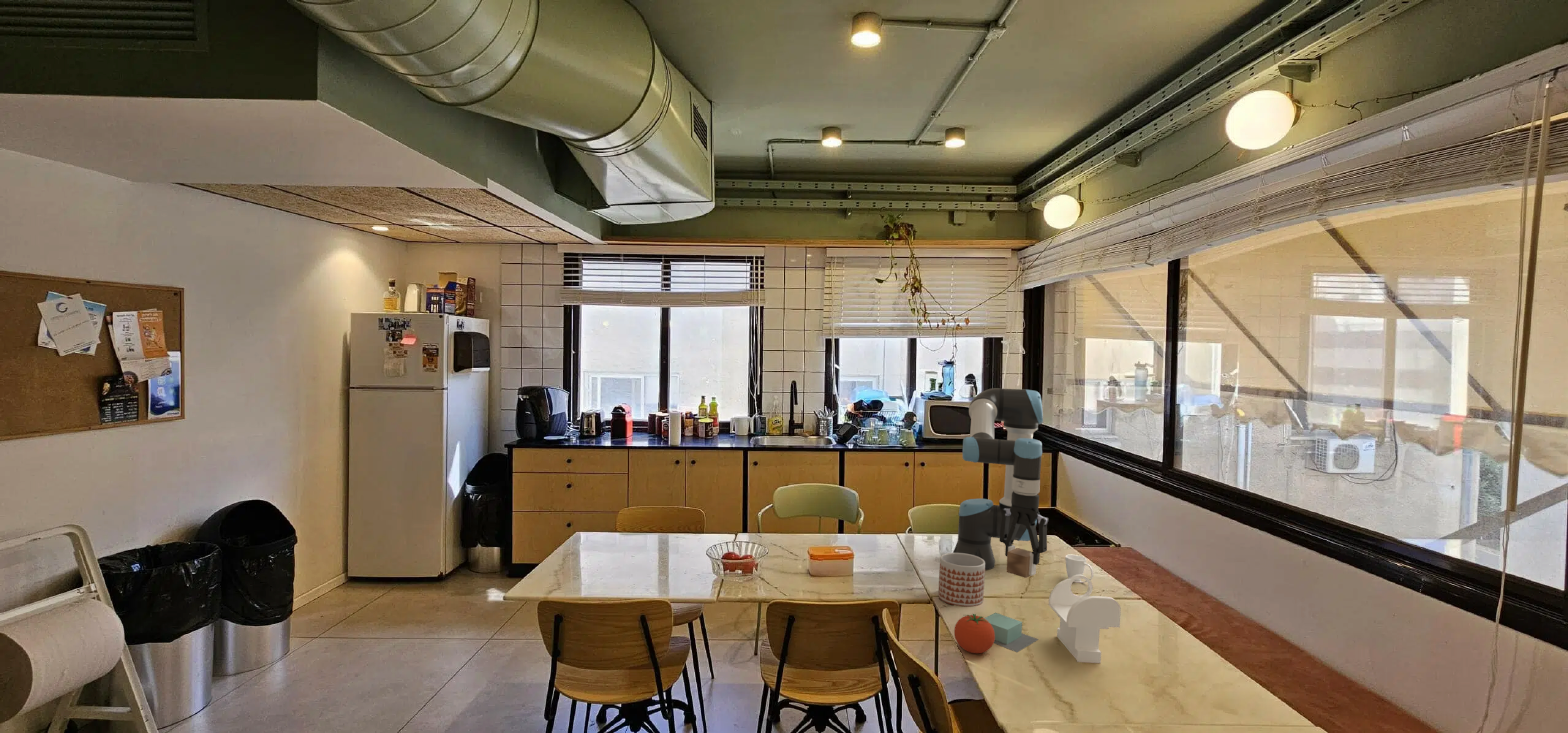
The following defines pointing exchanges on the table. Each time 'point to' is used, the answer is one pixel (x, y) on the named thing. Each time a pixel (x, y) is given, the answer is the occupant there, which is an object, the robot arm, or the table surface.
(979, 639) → the tomato
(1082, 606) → the tape dispenser
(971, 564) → the planter
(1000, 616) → the teal base block
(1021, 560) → the walnut block
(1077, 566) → the cup
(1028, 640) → the build mat
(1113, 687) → the table surface
